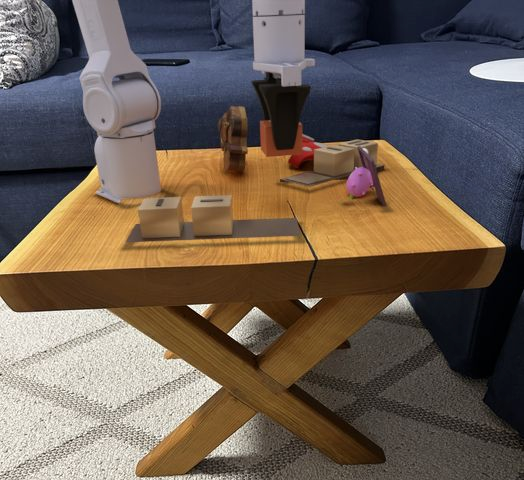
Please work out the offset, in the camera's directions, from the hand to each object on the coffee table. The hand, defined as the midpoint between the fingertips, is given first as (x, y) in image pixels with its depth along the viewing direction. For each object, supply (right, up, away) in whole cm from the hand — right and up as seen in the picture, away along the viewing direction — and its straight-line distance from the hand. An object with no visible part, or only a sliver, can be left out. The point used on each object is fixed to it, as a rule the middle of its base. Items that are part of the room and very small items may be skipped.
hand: (281, 145), depth 68 cm
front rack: (-8, -11, -2) cm, 14 cm away
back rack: (+9, +2, +19) cm, 21 cm away
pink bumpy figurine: (+11, -5, +8) cm, 15 cm away
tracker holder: (+7, +7, +28) cm, 30 cm away
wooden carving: (-7, +5, +25) cm, 26 cm away
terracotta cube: (0, -1, 0) cm, 1 cm away
